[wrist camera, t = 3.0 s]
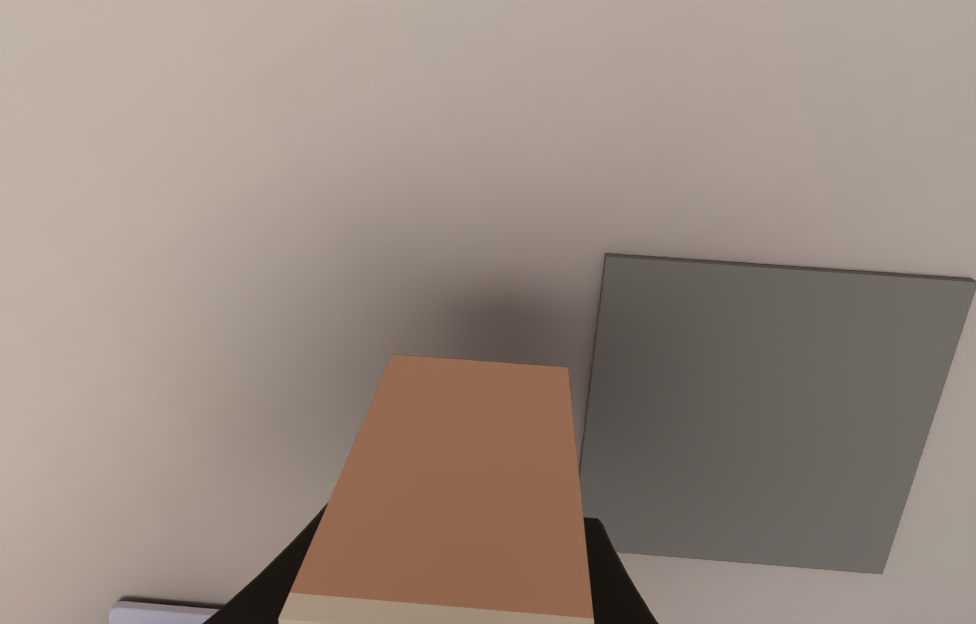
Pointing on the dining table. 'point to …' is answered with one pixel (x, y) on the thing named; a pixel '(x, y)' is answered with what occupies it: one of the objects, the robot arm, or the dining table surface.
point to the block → (454, 504)
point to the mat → (762, 407)
